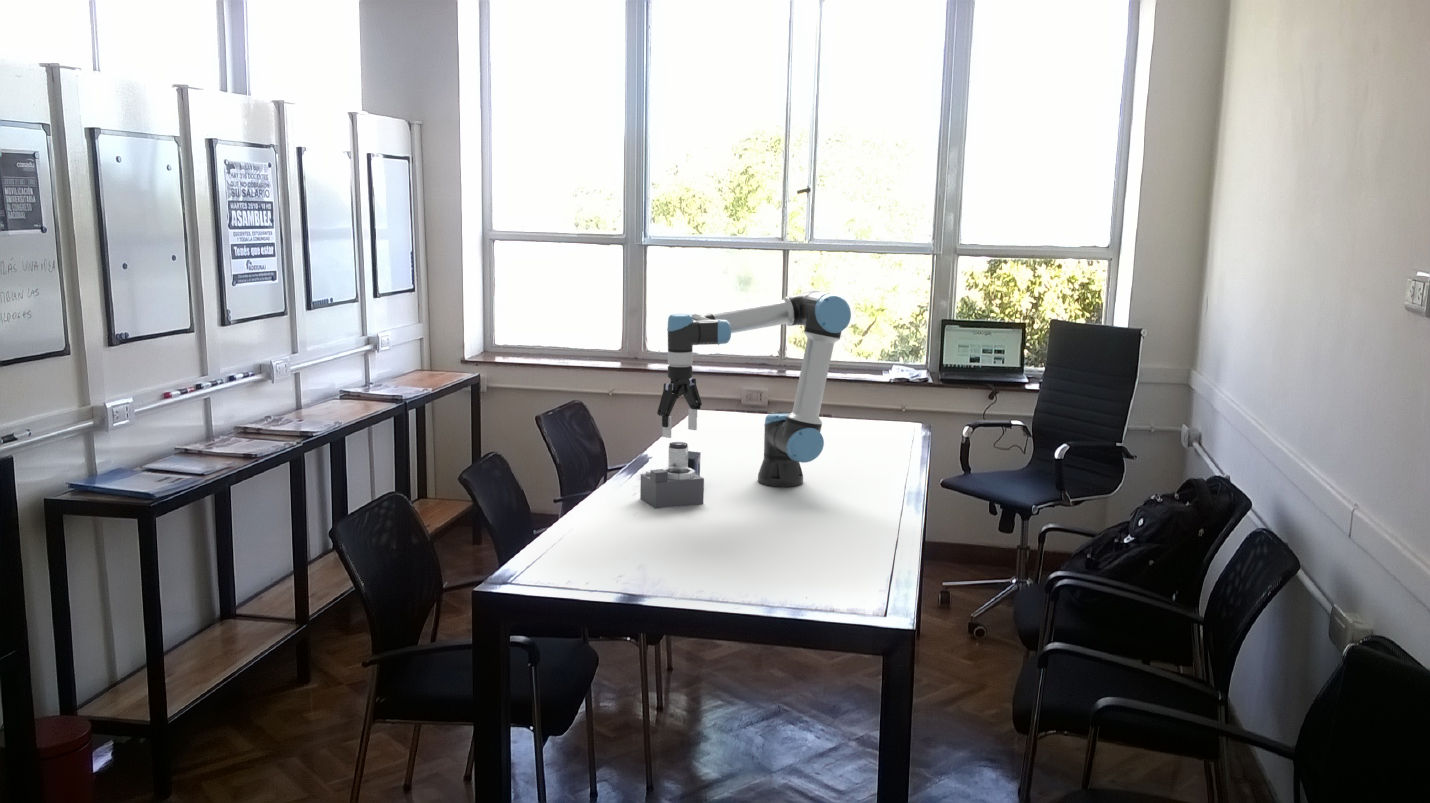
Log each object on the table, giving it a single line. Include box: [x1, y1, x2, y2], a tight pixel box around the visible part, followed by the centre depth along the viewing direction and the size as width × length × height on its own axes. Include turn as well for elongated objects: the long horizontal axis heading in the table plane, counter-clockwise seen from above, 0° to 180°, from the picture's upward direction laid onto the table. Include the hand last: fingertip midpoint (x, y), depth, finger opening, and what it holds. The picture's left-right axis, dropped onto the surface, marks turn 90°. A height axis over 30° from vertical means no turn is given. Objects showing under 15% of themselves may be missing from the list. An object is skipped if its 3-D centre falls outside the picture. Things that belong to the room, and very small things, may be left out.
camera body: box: [639, 467, 705, 510], centre depth 339 cm, size 16×12×11 cm
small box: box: [688, 450, 702, 477], centre depth 359 cm, size 11×6×10 cm, turn 168°
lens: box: [667, 441, 689, 474], centre depth 339 cm, size 6×6×10 cm
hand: (679, 433), depth 337 cm, fingers open, 13 cm apart
